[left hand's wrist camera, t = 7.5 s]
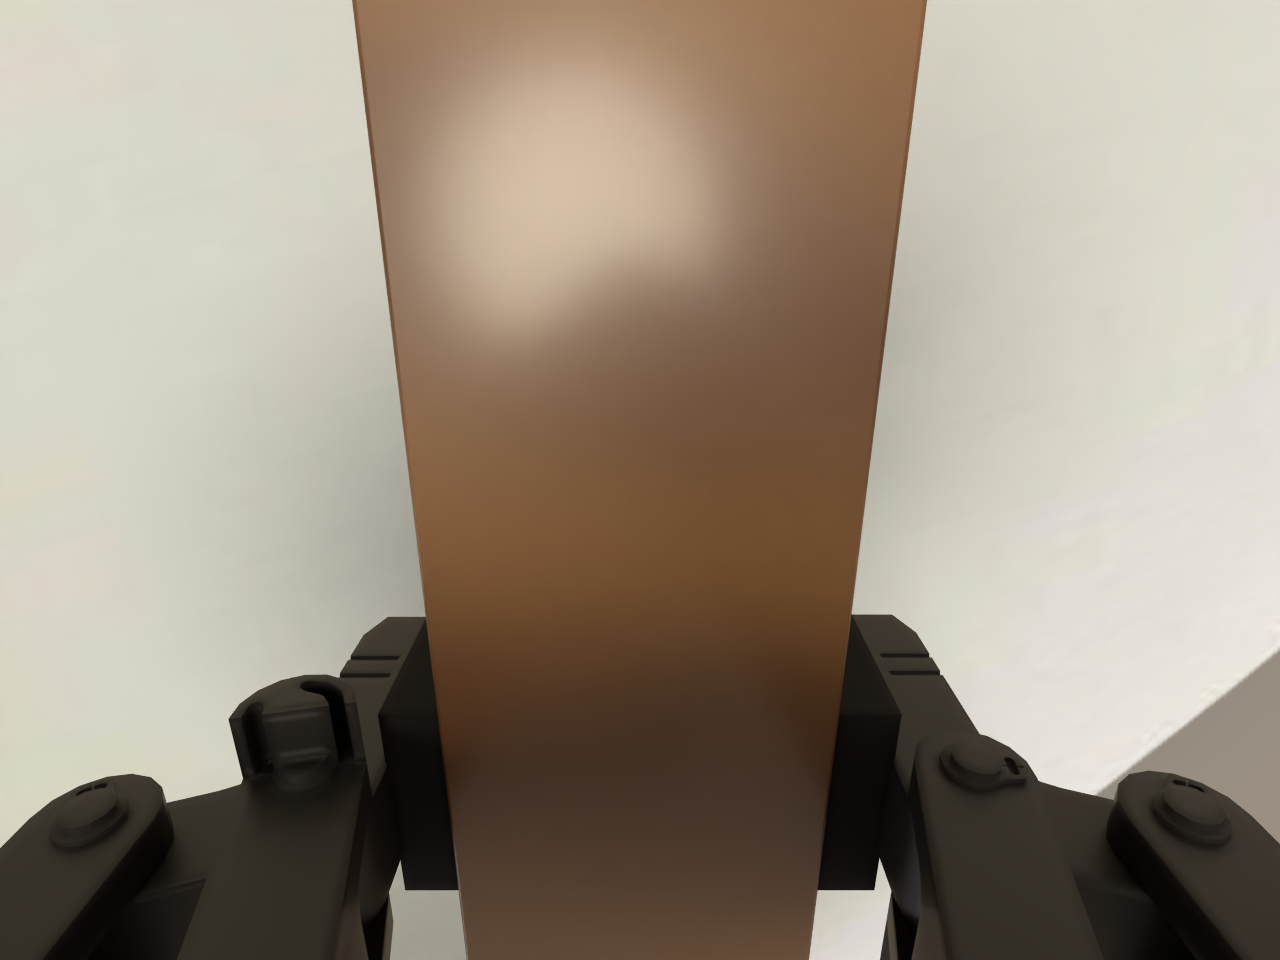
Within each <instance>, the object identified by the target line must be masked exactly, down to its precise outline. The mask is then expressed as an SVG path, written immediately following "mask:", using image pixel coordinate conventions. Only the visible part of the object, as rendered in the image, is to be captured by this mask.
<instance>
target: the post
mask: <svg viewBox="0 0 1280 960" xmlns="http://www.w3.org/2000/svg"><path fill="white" fill-rule="evenodd" d="M352 3H353V11H354V20H355V28H356V37H357V45H358V53H359V62H360V70H361V78H362V87H363V95H364V103H365V112H366V120H367V128H368V137H369V145H370V154H371V162H372V170H373V179H374V187H375V195H376V204H377V212H378V220H379V229H380V237H381V246H382V254H383V262H384V271H385V279H386V287H387V296H388V304H389V312H390V321H391V329H392V338H393V346H394V354H395V363H396V371H397V379H398V388H399V396H400V404H401V413H402V421H403V429H404V438H405V446H406V455H407V463H408V471H409V480H410V488H411V496H412V505H413V513H414V521H415V530H416V538H417V547H418V555H419V563H420V572H421V580H422V588H423V597H424V605H425V613H426V622H427V630H428V638H429V647H430V655H431V664H432V672H433V680H434V689H435V697H436V705H437V714H438V722H439V730H440V739H441V747H442V756H443V764H444V772H445V781H446V789H447V797H448V806H449V814H450V822H451V831H452V839H453V847H454V856H455V864H456V873H457V881H458V889H459V898H460V906H461V914H462V923H463V931H464V939H465V948H466V956H467V960H809V954H810V946H811V938H812V930H813V922H814V914H815V906H816V897H817V889H818V881H819V873H820V865H821V857H822V849H823V841H824V833H825V824H826V816H827V808H828V800H829V792H830V784H831V776H832V768H833V760H834V751H835V743H836V735H837V727H838V719H839V711H840V703H841V695H842V687H843V678H844V670H845V662H846V654H847V646H848V638H849V630H850V622H851V613H852V605H853V597H854V589H855V581H856V573H857V565H858V557H859V549H860V540H861V532H862V524H863V516H864V508H865V500H866V492H867V484H868V476H869V467H870V459H871V451H872V443H873V435H874V427H875V419H876V411H877V403H878V394H879V386H880V378H881V370H882V362H883V354H884V346H885V338H886V329H887V321H888V313H889V305H890V297H891V289H892V281H893V273H894V265H895V256H896V248H897V240H898V232H899V224H900V216H901V208H902V200H903V192H904V183H905V175H906V167H907V159H908V151H909V143H910V135H911V127H912V119H913V110H914V102H915V94H916V86H917V78H918V70H919V62H920V54H921V45H922V37H923V29H924V21H925V13H926V5H927V0H352Z"/></svg>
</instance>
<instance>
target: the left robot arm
mask: <svg viewBox="0 0 1280 960" xmlns="http://www.w3.org/2000/svg"><path fill="white" fill-rule="evenodd" d="M229 723H230V727H231V731H232V735H233V739H234V743H235V747H236V751H237V755H238V760H239V764H240V768H241V772H242V776H243V780H242V783H241V784H240V785H237V786H234V787H231V788H227V789H224V790H221V791H217V792H213V793H208V794H204V795H200V796H195V797H191V798H186V799H182V800H178V801H173V802H169V803H166V799H165V796H164V793H163V789H162V787H161V786H160V785H159V784H158V783H157V782H156V781H154V780H153V779H152V778H151V777H146V776H141V775H135V774H127V775H119V776H110V777H105V778H102V779H99V780H96V781H93V782H90V783H87V784H84V785H81V786H79V787H77V788H75V789H73V790H71V791H69V792H67V793H65V794H64V795H62V796H60V797H58V798H56V799H54V800H52V801H51V802H50V803H49V804H47V805H46V806H45V807H44V808H42V809H41V810H40V811H39V812H37V813H36V814H35V815H34V816H32V817H31V818H30V819H29V820H28V821H27V822H26V823H25V824H24V825H23V826H22V827H21V828H20V829H19V830H18V831H17V832H16V833H15V834H14V835H13V836H12V837H11V838H10V839H9V840H8V841H7V842H6V843H5V844H4V845H3V846H2V847H1V848H0V960H390V952H391V941H392V930H393V916H392V910H391V903H390V897H389V890H390V887H391V885H392V882H393V879H394V876H395V873H396V871H397V868H398V865H399V862H400V859H401V866H402V872H403V878H404V885H405V890H459V889H458V881H457V873H456V864H455V856H454V847H453V839H452V831H451V822H450V814H449V806H448V797H447V789H446V781H445V772H444V764H443V756H442V747H441V739H440V730H439V722H438V714H437V705H436V697H435V689H434V680H433V672H432V664H431V655H430V647H429V638H428V630H427V622H426V617H387V618H386V619H385V620H383V621H382V622H381V623H379V624H378V625H377V626H375V627H374V628H373V629H371V630H370V631H369V632H367V633H366V634H365V635H364V636H363V637H362V639H361V640H360V642H359V644H358V645H357V647H356V648H355V650H354V652H353V653H352V655H351V660H348V661H347V663H346V665H345V666H344V668H343V669H342V671H341V673H340V678H337V677H333V676H330V675H303V676H298V677H294V678H289V679H285V680H281V681H279V682H276V683H274V684H272V685H269V686H267V687H265V688H263V689H260V690H258V691H257V692H255V693H254V694H253V695H251V696H250V697H249V698H247V699H246V700H244V701H243V702H242V703H240V704H239V706H238V707H237V708H236V710H235V711H234V712H233V714H232V715H231V716H230V718H229ZM879 857H880V860H881V863H882V865H883V868H884V871H885V874H886V877H887V879H888V882H889V885H890V888H891V890H892V891H891V897H890V903H889V909H888V915H887V921H886V927H885V933H884V939H883V945H882V951H881V957H880V960H1280V844H1279V843H1278V842H1277V841H1276V840H1275V839H1274V838H1273V837H1272V836H1271V835H1270V834H1269V833H1268V832H1267V831H1266V830H1265V829H1264V828H1263V827H1262V826H1261V825H1260V824H1259V823H1258V822H1257V821H1256V820H1255V819H1254V818H1253V817H1252V816H1251V815H1250V814H1249V813H1247V812H1246V811H1245V810H1244V809H1242V808H1241V807H1240V806H1239V805H1237V804H1236V803H1235V802H1233V801H1232V800H1231V799H1230V798H1228V797H1227V796H1225V795H1223V794H1221V793H1219V792H1217V791H1215V790H1214V789H1212V788H1210V787H1208V786H1206V785H1204V784H1202V783H1200V782H1197V781H1194V780H1191V779H1188V778H1185V777H1182V776H1179V775H1176V774H1171V773H1162V772H1154V771H1145V772H1139V773H1134V774H1129V775H1128V776H1127V777H1126V778H1125V779H1123V780H1122V781H1121V782H1120V783H1119V784H1118V787H1117V791H1116V794H1115V797H1114V800H1111V799H1107V798H1102V797H1098V796H1094V795H1089V794H1085V793H1080V792H1076V791H1072V790H1067V789H1063V788H1059V787H1056V786H1053V785H1049V784H1046V783H1043V782H1040V781H1038V779H1037V777H1036V775H1035V774H1034V772H1033V771H1032V769H1031V768H1030V766H1029V764H1028V763H1027V761H1025V760H1024V759H1023V758H1022V757H1021V756H1019V755H1018V754H1017V753H1016V752H1015V751H1013V750H1012V749H1011V748H1010V747H1008V746H1006V745H1004V744H1002V743H1000V742H998V741H996V740H994V739H992V738H990V737H988V736H985V735H981V734H979V732H978V731H977V729H976V728H975V726H974V724H973V723H972V721H971V720H970V718H969V716H968V715H967V713H966V712H965V710H964V708H963V707H962V705H961V704H960V702H959V700H958V699H957V697H956V696H955V694H954V692H953V691H952V689H951V688H950V686H949V684H948V683H947V681H946V680H945V678H944V677H943V675H940V670H939V669H938V667H937V665H936V664H935V662H934V661H933V659H932V658H929V653H928V651H927V649H926V648H925V646H924V645H923V643H922V641H921V640H920V638H919V637H918V635H917V633H916V632H915V631H913V630H912V629H910V628H909V627H908V626H906V625H905V624H904V623H902V622H901V621H900V620H898V619H897V618H896V617H894V616H893V615H852V614H851V622H850V630H849V638H848V646H847V654H846V662H845V670H844V678H843V687H842V695H841V703H840V711H839V719H838V727H837V735H836V743H835V751H834V760H833V768H832V776H831V784H830V792H829V800H828V808H827V816H826V824H825V833H824V841H823V849H822V857H821V865H820V873H819V881H818V889H817V890H874V888H875V882H876V876H877V869H878V863H879Z"/></svg>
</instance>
